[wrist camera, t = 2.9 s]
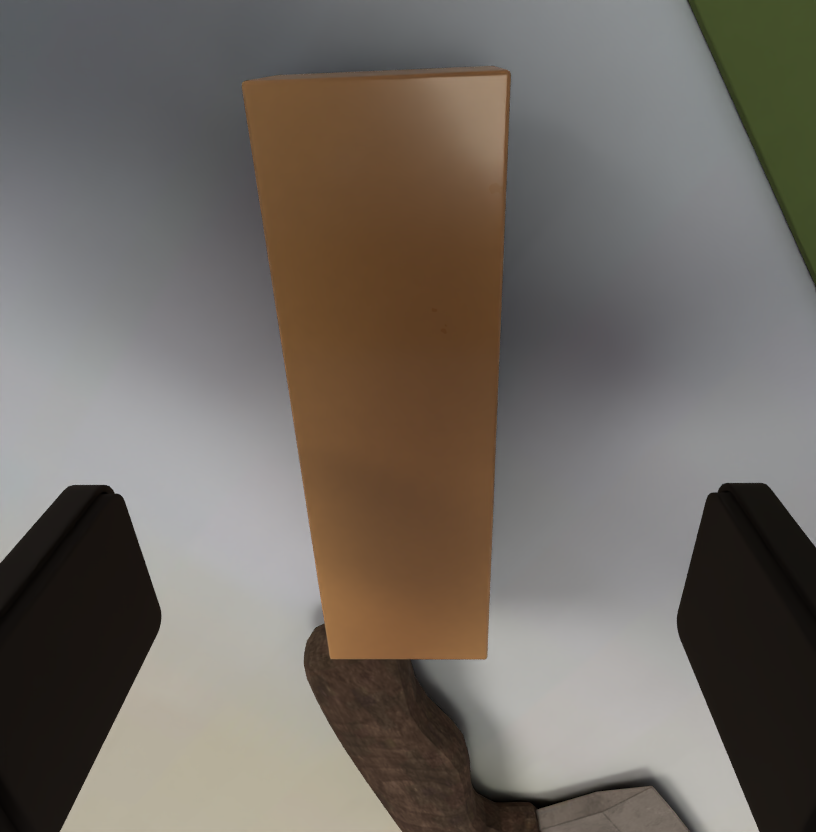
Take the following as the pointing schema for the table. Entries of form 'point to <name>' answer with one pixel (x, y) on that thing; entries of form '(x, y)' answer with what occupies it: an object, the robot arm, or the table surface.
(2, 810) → the robot arm
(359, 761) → the cleaver
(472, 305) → the chalkboard eraser
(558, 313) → the table surface
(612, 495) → the table surface
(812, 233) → the cloth
